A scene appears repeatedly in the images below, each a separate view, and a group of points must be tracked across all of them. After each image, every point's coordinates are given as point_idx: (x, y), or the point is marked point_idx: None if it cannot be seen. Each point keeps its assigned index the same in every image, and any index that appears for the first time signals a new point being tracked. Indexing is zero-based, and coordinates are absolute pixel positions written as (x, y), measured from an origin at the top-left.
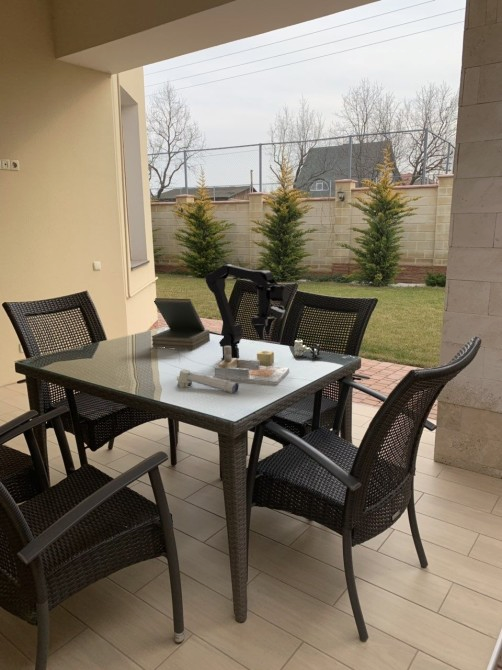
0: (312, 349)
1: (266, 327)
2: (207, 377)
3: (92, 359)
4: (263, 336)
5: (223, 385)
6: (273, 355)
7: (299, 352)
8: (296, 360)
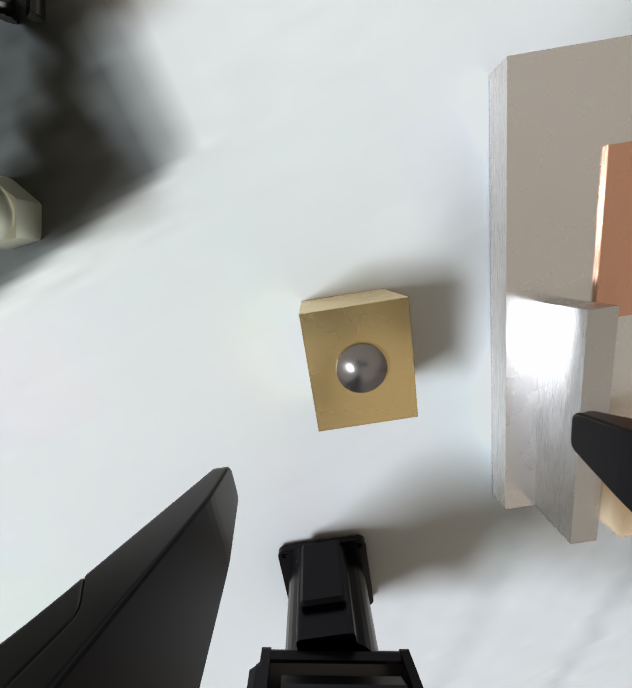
0: None
1: (190, 646)
2: None
3: None
4: (628, 426)
5: None
6: (309, 307)
7: (6, 189)
8: (177, 155)
